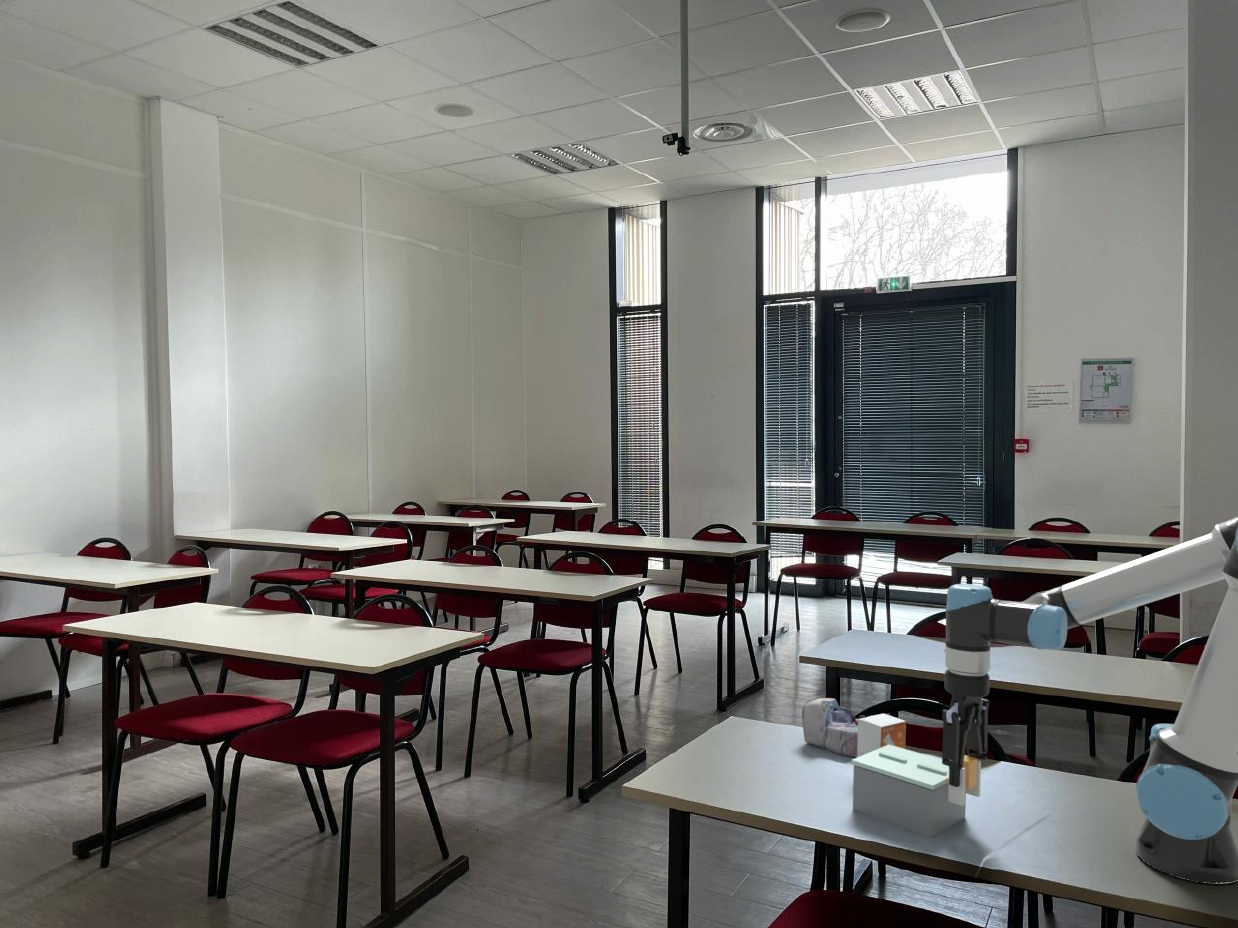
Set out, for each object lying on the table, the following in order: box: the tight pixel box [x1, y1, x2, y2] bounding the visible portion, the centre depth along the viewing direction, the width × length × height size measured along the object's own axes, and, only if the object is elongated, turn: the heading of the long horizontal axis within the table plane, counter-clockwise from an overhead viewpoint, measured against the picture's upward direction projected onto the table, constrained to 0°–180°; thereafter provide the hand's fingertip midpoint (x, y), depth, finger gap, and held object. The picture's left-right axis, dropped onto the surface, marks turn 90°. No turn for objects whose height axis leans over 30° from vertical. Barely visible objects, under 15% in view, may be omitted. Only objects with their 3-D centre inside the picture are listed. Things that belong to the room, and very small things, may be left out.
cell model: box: [801, 697, 875, 758], centre depth 202 cm, size 13×11×20 cm
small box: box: [856, 713, 907, 758], centre depth 182 cm, size 8×6×13 cm
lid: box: [851, 745, 977, 790], centre depth 163 cm, size 21×14×5 cm, turn 42°
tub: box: [852, 765, 967, 839], centre depth 164 cm, size 16×13×9 cm
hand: (964, 798), depth 156 cm, fingers open, 5 cm apart
